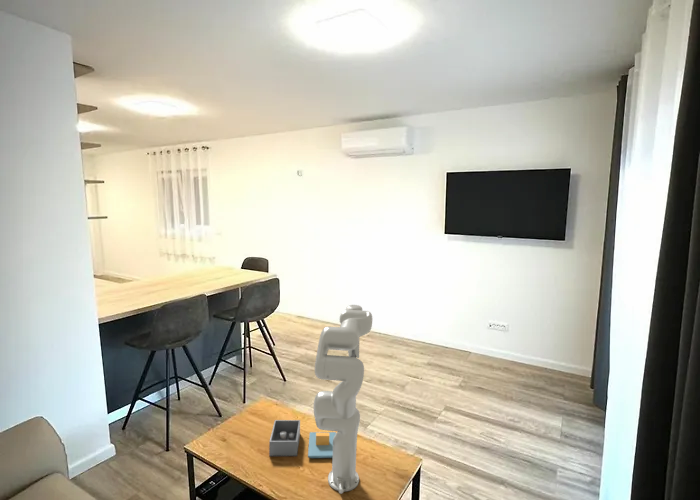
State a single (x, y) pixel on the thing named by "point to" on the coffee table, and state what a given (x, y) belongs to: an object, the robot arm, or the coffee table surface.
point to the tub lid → (321, 444)
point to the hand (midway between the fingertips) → (352, 366)
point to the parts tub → (284, 438)
